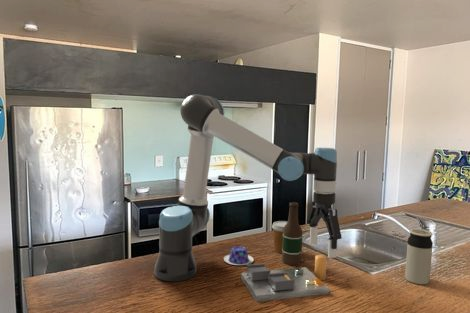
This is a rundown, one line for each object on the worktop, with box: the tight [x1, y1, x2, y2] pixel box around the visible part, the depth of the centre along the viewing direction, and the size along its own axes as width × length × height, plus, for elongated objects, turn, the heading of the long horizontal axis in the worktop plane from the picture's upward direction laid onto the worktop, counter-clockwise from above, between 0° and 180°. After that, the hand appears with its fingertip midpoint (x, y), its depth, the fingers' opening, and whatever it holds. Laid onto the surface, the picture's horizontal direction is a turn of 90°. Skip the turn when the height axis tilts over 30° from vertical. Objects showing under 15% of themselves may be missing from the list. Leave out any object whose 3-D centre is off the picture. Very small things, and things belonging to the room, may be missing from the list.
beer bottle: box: [281, 201, 303, 266], centre depth 146 cm, size 8×8×24 cm
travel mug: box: [404, 228, 434, 285], centre depth 132 cm, size 8×8×18 cm
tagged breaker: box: [268, 272, 294, 291], centre depth 121 cm, size 6×6×3 cm
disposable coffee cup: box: [271, 220, 288, 254], centre depth 158 cm, size 10×10×12 cm
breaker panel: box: [240, 266, 330, 303], centre depth 126 cm, size 25×17×3 cm
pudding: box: [223, 245, 255, 266], centre depth 147 cm, size 12×12×5 cm
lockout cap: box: [313, 254, 328, 282], centre depth 133 cm, size 4×4×8 cm
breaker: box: [246, 263, 270, 281], centre depth 128 cm, size 6×6×3 cm
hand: (322, 250), depth 132 cm, fingers open, 13 cm apart
